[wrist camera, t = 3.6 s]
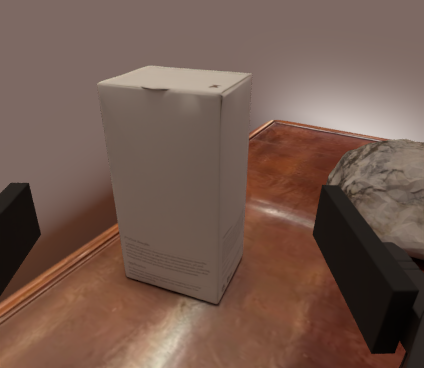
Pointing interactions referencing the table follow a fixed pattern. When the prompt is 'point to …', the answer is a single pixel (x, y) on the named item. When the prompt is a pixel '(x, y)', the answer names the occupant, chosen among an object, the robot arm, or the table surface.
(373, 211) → the decorative stone
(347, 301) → the robot arm
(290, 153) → the table surface
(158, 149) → the cosmetic box
